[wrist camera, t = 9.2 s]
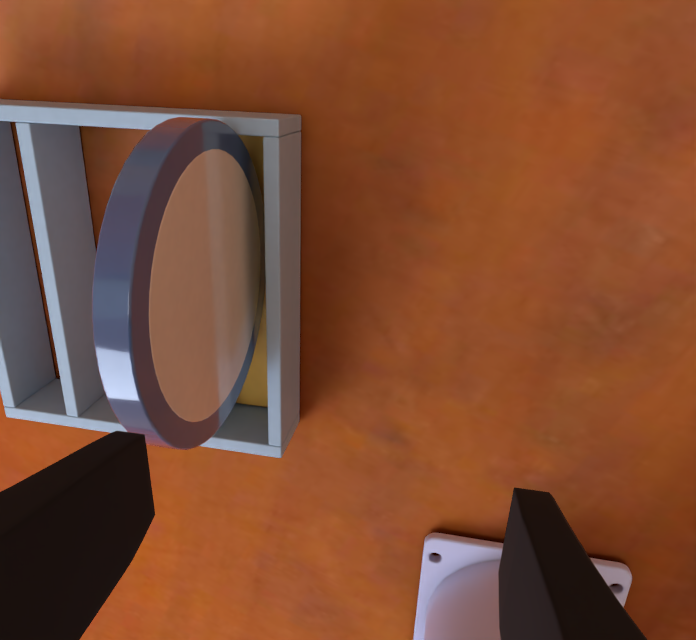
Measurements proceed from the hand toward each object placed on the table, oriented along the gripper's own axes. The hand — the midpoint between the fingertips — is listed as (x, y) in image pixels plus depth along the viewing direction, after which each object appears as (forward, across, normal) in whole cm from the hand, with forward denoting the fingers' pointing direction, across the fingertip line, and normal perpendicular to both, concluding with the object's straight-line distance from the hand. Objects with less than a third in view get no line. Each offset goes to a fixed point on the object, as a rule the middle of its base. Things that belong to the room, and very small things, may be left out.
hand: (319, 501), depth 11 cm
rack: (+10, +9, 0) cm, 14 cm away
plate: (+10, +5, 0) cm, 11 cm away
